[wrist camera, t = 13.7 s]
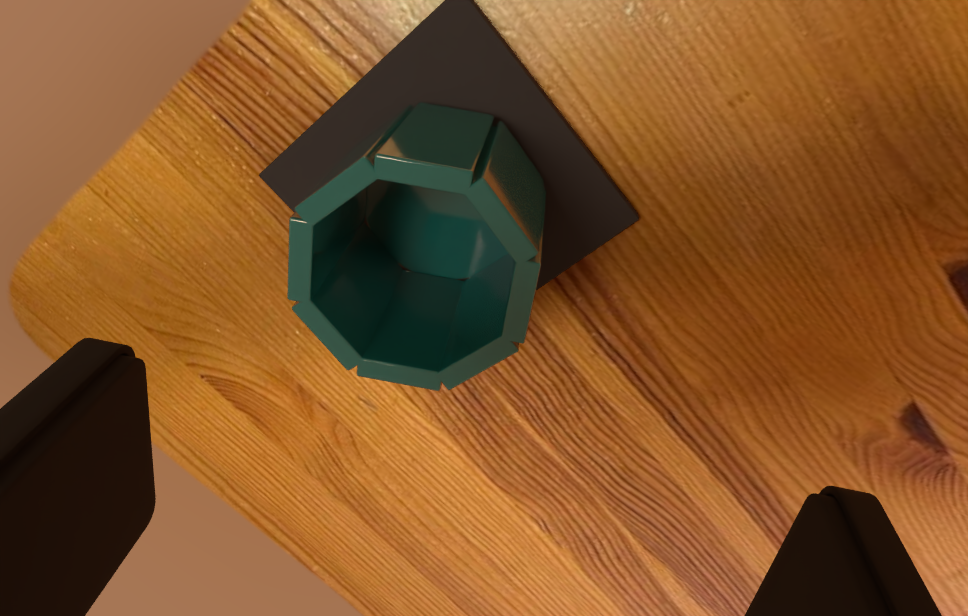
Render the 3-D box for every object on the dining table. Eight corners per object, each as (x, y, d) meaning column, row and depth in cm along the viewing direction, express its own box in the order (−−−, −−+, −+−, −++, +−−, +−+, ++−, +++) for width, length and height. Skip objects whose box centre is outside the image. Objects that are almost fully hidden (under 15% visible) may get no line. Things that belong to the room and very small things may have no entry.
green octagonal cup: (359, 86, 24) (290, 138, 18) (559, 122, 24) (557, 187, 18) (346, 267, 28) (284, 363, 22) (523, 300, 28) (511, 405, 22)
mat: (461, -15, 23) (459, -14, 23) (638, 213, 26) (640, 219, 26) (263, 170, 27) (257, 175, 26) (438, 352, 30) (436, 360, 29)
